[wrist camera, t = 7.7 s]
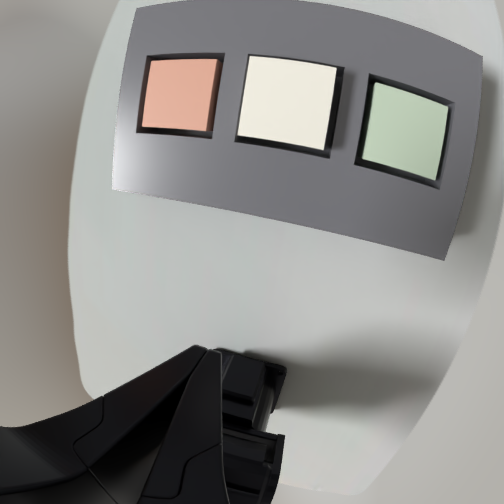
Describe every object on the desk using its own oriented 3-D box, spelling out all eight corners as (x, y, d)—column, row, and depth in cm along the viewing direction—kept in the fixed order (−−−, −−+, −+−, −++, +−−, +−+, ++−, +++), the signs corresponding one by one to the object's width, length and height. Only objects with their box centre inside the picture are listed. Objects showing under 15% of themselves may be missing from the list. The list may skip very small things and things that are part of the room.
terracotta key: (221, 131, 16) (205, 131, 14) (163, 126, 17) (142, 126, 15) (231, 69, 15) (216, 59, 13) (171, 68, 15) (151, 61, 13)
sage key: (420, 174, 15) (435, 180, 12) (357, 156, 15) (363, 159, 13) (431, 110, 13) (448, 106, 11) (368, 90, 14) (376, 82, 11)
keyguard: (425, 240, 17) (444, 260, 14) (141, 180, 20) (112, 189, 17) (458, 67, 12) (482, 56, 9) (163, 23, 15) (136, 8, 12)
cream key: (322, 148, 15) (323, 150, 12) (249, 135, 15) (237, 135, 13) (334, 78, 13) (336, 67, 11) (260, 67, 14) (249, 56, 11)
